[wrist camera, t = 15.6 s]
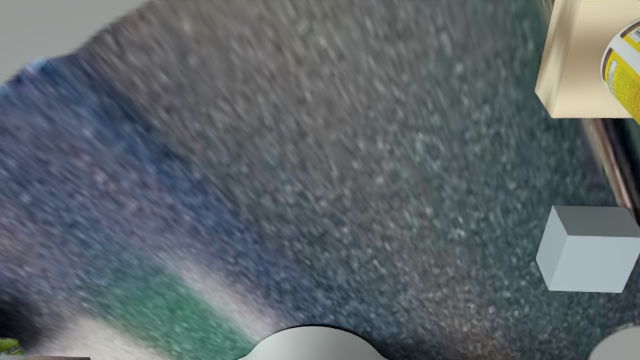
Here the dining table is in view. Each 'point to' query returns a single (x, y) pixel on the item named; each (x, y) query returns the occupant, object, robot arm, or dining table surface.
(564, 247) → the greyblue block
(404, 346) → the dining table surface
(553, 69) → the beech block
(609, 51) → the supplement bottle
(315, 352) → the robot arm
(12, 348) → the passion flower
